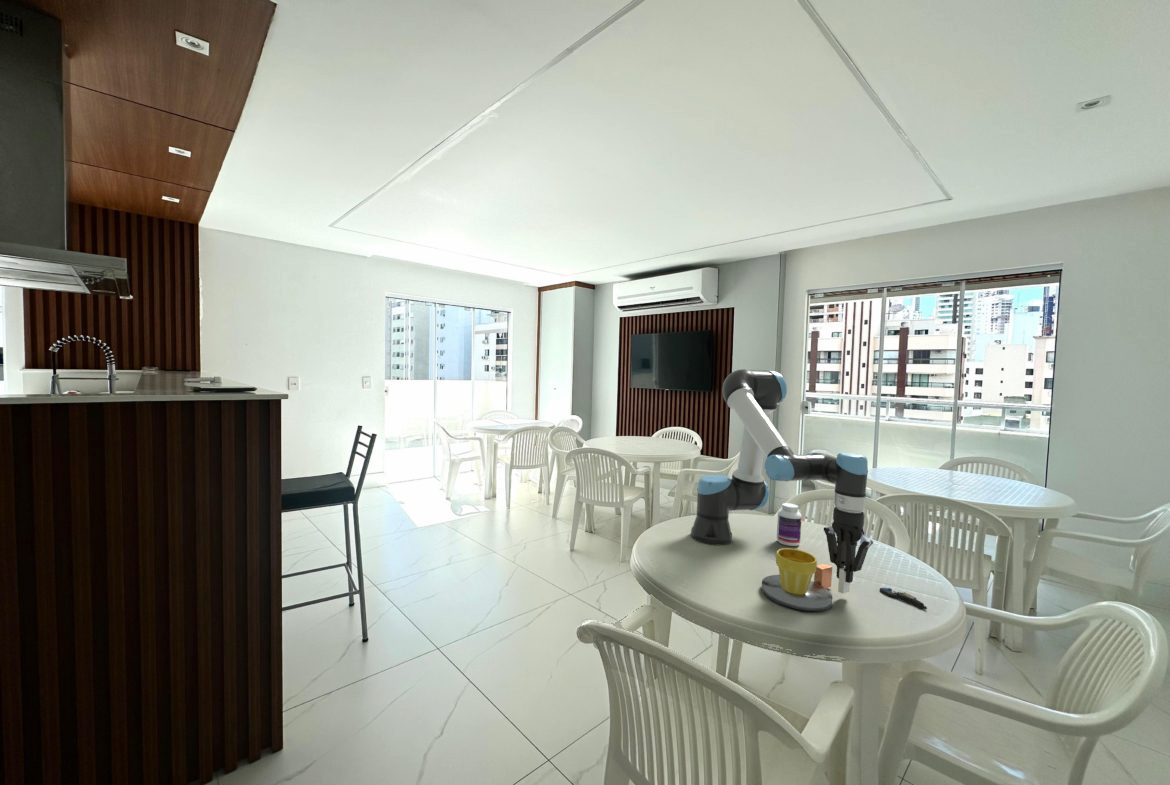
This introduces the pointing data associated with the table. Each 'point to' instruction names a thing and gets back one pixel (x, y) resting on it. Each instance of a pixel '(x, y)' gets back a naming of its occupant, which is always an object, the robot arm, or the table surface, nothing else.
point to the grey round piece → (811, 601)
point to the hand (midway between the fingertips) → (843, 591)
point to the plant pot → (795, 569)
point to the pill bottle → (789, 525)
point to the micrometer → (903, 597)
